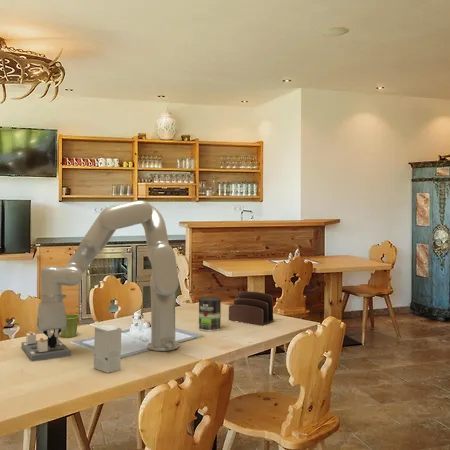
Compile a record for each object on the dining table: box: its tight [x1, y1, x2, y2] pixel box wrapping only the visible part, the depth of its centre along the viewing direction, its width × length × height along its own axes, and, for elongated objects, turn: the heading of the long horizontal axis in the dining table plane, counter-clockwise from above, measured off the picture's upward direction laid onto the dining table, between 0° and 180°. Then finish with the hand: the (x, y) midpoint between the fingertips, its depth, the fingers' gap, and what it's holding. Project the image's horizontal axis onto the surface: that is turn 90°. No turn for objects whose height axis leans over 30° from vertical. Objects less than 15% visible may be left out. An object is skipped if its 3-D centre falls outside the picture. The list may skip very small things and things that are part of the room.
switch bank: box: [21, 338, 72, 362], centre depth 207 cm, size 22×14×2 cm, turn 30°
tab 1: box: [25, 330, 37, 344], centre depth 211 cm, size 4×3×4 cm
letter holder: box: [228, 290, 274, 327], centre depth 259 cm, size 10×20×14 cm, turn 55°
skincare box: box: [93, 324, 122, 374], centre depth 184 cm, size 8×6×15 cm
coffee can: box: [198, 296, 222, 332], centre depth 243 cm, size 10×10×14 cm
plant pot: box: [60, 313, 81, 338], centre depth 231 cm, size 9×9×9 cm
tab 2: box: [36, 337, 48, 352], centre depth 199 cm, size 4×3×4 cm
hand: (52, 346), depth 201 cm, fingers closed
